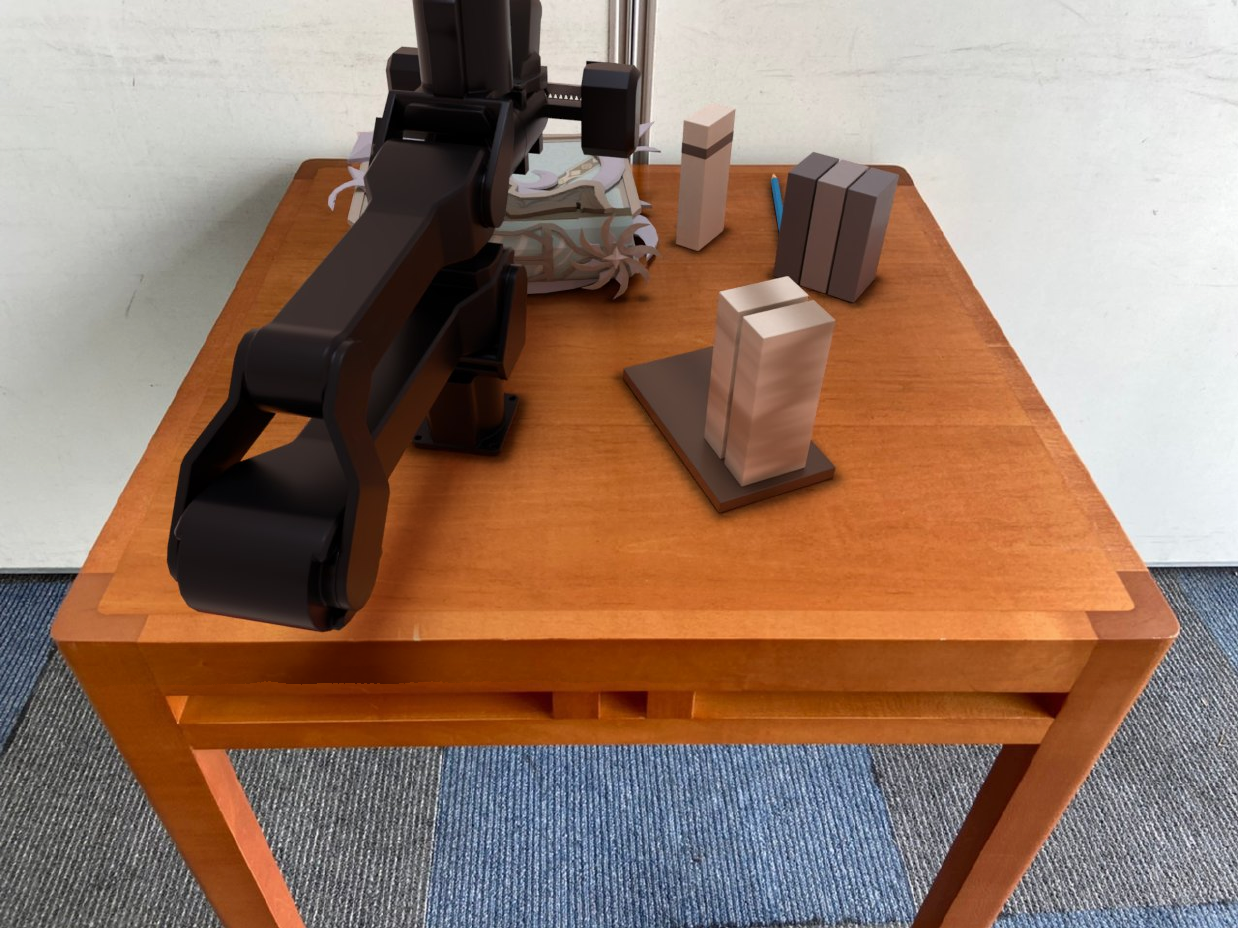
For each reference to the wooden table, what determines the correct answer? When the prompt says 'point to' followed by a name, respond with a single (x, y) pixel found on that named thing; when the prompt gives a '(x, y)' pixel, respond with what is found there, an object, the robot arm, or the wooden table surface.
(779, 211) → the pencil
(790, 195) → the grey books
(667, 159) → the wooden table surface
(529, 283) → the ornate book
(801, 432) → the white book rack
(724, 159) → the white book
